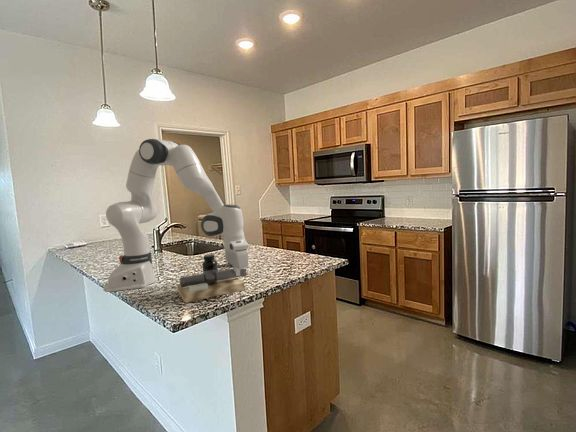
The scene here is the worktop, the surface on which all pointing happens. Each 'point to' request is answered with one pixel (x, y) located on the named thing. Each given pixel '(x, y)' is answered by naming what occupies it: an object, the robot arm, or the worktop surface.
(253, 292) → the worktop surface
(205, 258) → the supplement bottle
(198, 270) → the worktop surface
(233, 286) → the levelling stand
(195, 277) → the dark grey bar
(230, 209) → the robot arm
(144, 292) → the worktop surface
